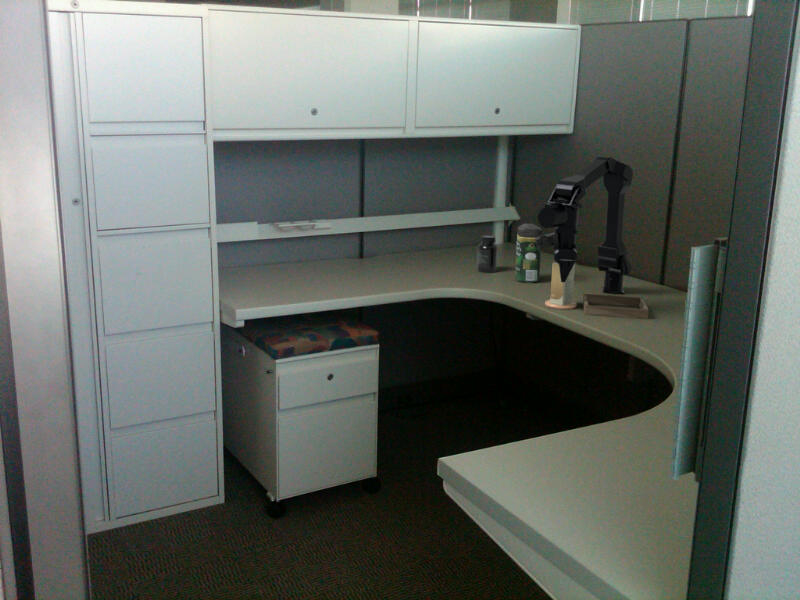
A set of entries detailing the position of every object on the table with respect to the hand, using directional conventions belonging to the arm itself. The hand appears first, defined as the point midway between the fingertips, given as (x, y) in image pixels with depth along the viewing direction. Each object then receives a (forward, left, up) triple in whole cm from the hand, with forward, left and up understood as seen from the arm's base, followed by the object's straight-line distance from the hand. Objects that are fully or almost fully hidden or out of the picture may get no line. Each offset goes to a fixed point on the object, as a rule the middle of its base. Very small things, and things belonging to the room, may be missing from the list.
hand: (562, 278), depth 231 cm
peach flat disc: (0, 0, -8) cm, 8 cm away
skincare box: (0, 0, -7) cm, 7 cm away
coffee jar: (-32, -11, -8) cm, 35 cm away
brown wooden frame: (+1, +15, -8) cm, 17 cm away
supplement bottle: (-43, -25, -8) cm, 50 cm away
